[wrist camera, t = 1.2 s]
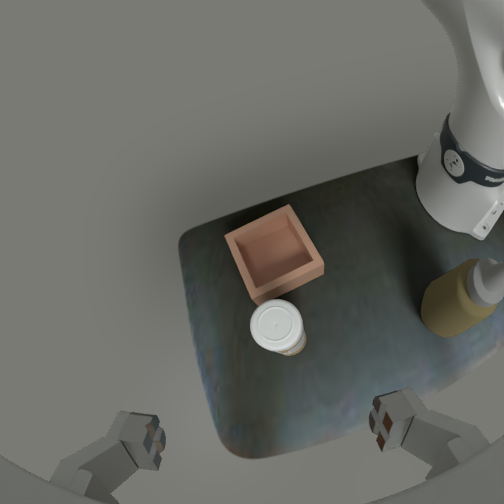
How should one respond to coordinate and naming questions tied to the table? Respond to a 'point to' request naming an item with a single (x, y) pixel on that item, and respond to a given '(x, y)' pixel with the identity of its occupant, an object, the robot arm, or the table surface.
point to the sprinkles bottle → (278, 327)
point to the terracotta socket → (274, 255)
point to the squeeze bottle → (463, 297)
